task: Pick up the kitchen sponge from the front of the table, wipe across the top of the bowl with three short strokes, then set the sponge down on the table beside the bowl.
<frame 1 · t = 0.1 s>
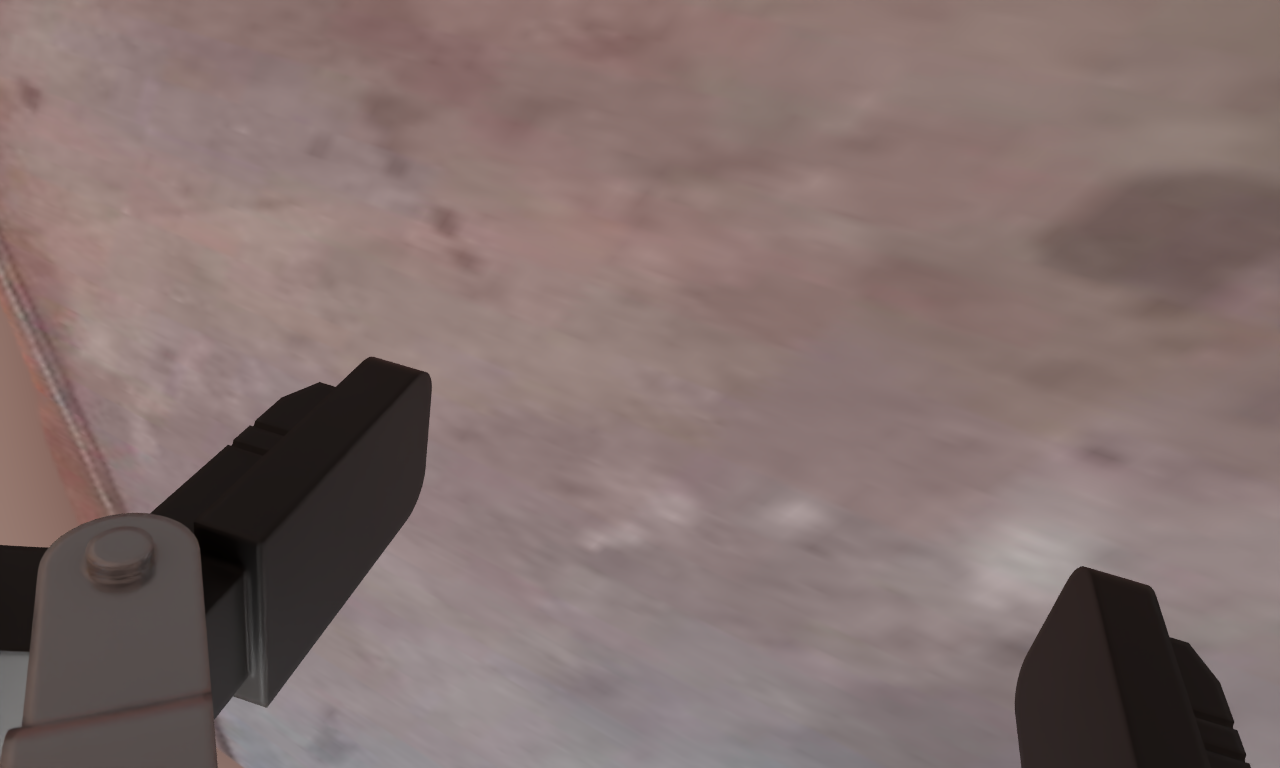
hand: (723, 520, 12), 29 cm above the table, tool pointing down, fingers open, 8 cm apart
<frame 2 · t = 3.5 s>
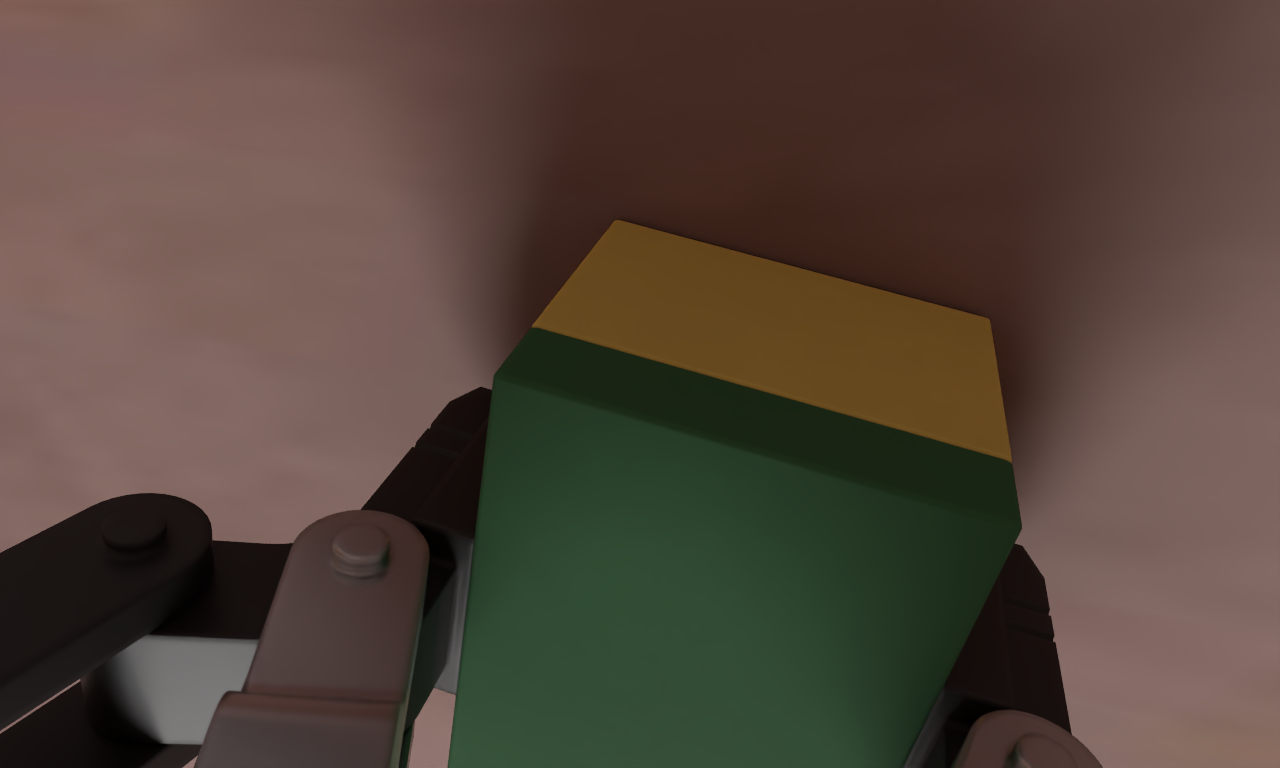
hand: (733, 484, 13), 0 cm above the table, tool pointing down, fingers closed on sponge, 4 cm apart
sponge: (739, 470, 13), on the table, touching gripper
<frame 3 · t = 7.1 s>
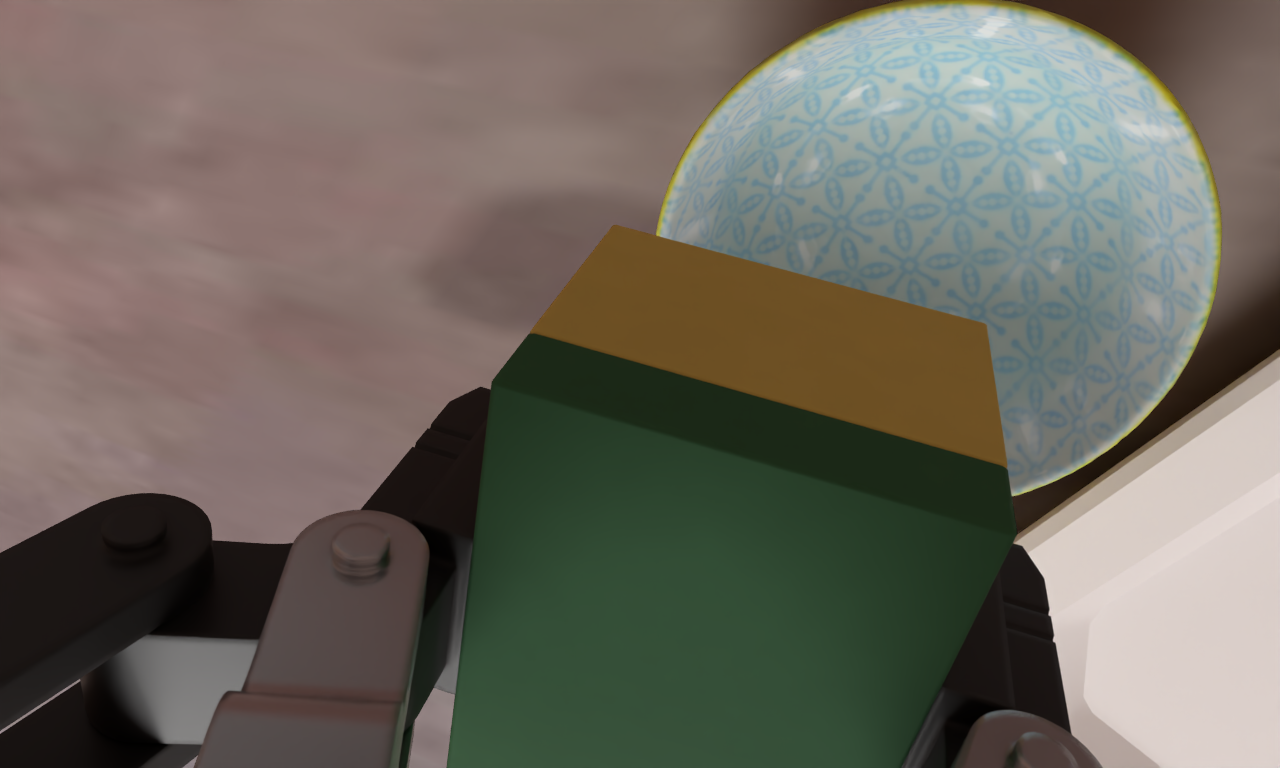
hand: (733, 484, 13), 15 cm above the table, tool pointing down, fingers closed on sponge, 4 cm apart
sponge: (737, 474, 13), point 15 cm above the table, touching gripper
bowl: (916, 194, 26), on the table
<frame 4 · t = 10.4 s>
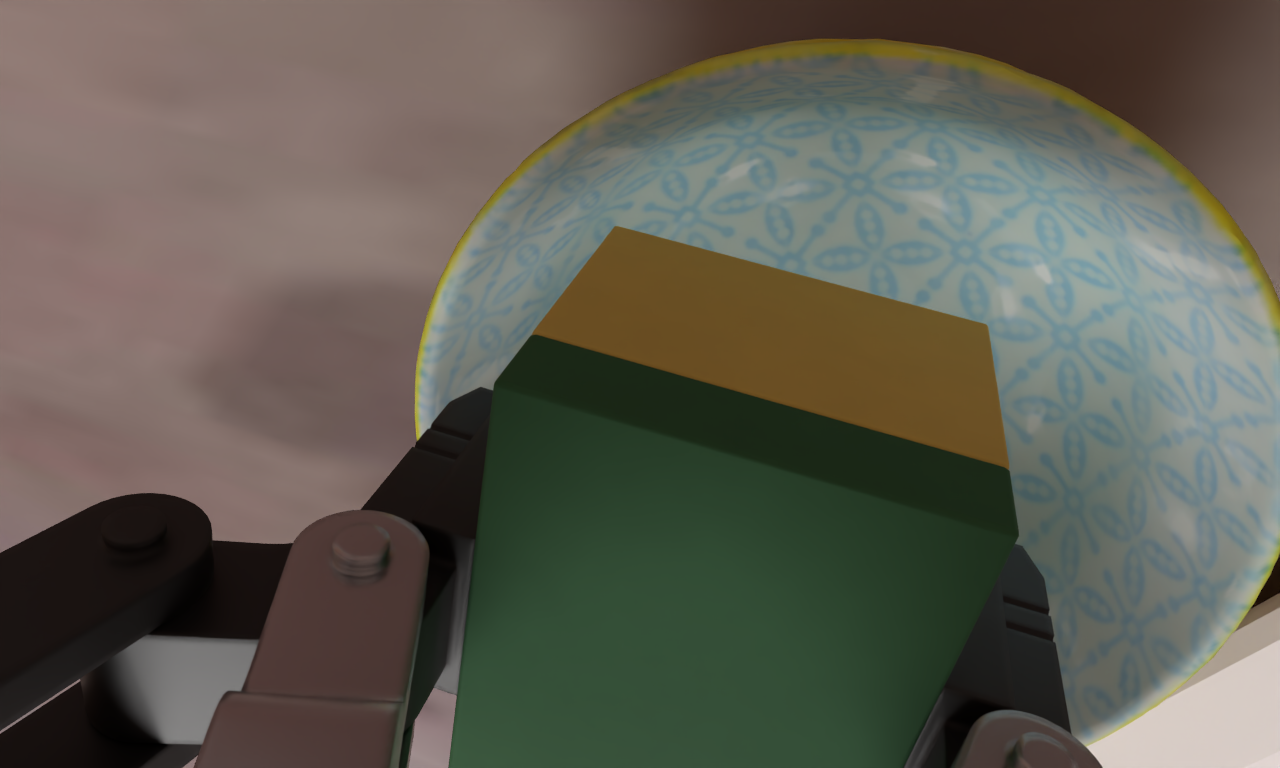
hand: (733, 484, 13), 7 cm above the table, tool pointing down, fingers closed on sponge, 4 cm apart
sponge: (739, 474, 13), point 6 cm above the table, touching gripper
bowl: (842, 303, 18), on the table
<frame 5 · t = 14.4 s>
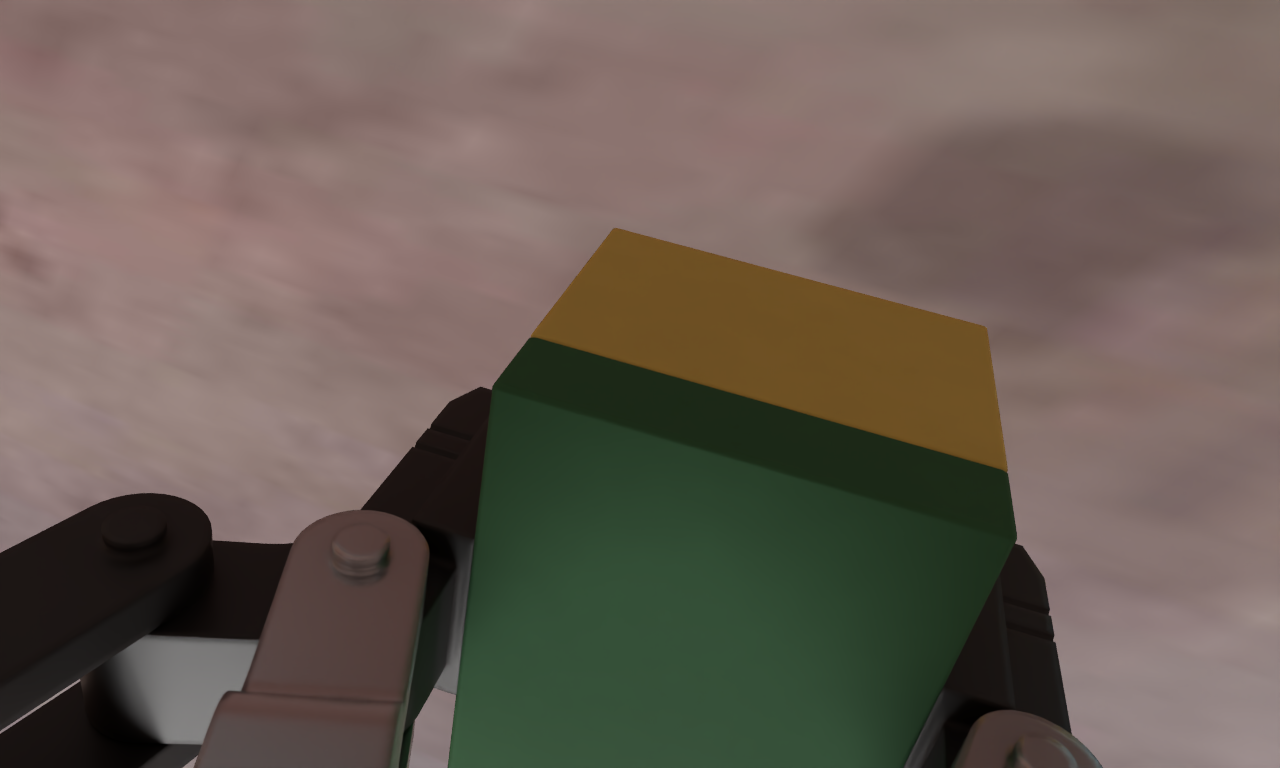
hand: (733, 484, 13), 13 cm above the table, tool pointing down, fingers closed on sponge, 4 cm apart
sponge: (738, 476, 13), point 12 cm above the table, touching gripper
when the fingers open (0 cm above the table, at t = 17.6 s): sponge stays where it is, on the table.
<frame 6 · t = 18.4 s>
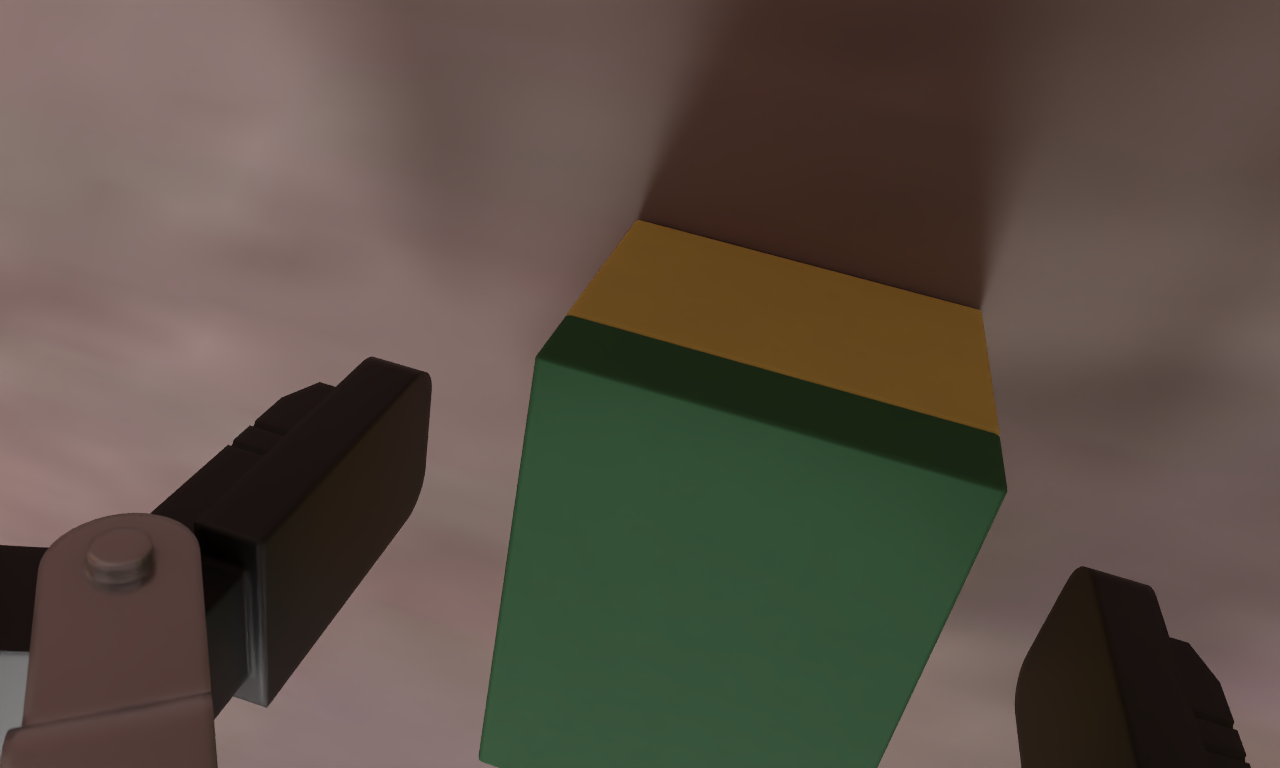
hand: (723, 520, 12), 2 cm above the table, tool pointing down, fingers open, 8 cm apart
sponge: (750, 453, 14), on the table
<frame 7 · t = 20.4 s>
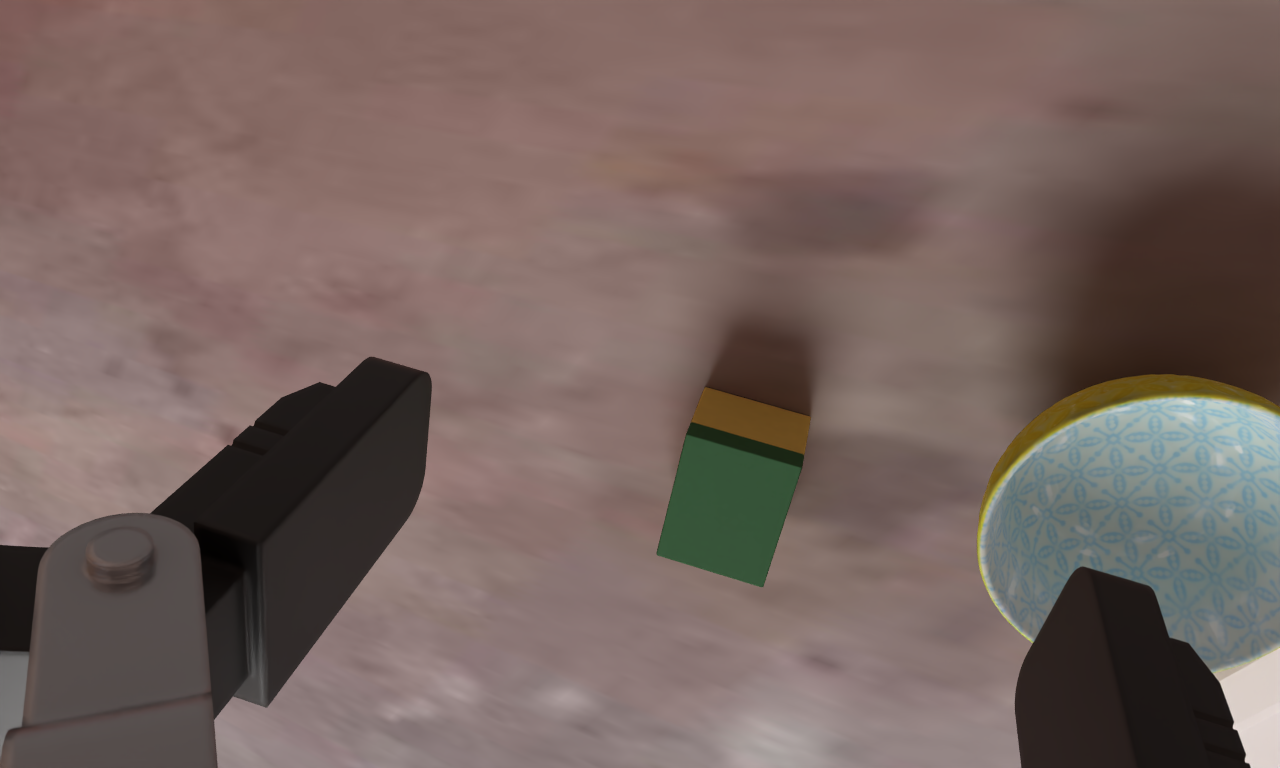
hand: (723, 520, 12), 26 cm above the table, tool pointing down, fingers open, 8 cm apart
sponge: (740, 460, 42), on the table
bowl: (1123, 450, 38), on the table
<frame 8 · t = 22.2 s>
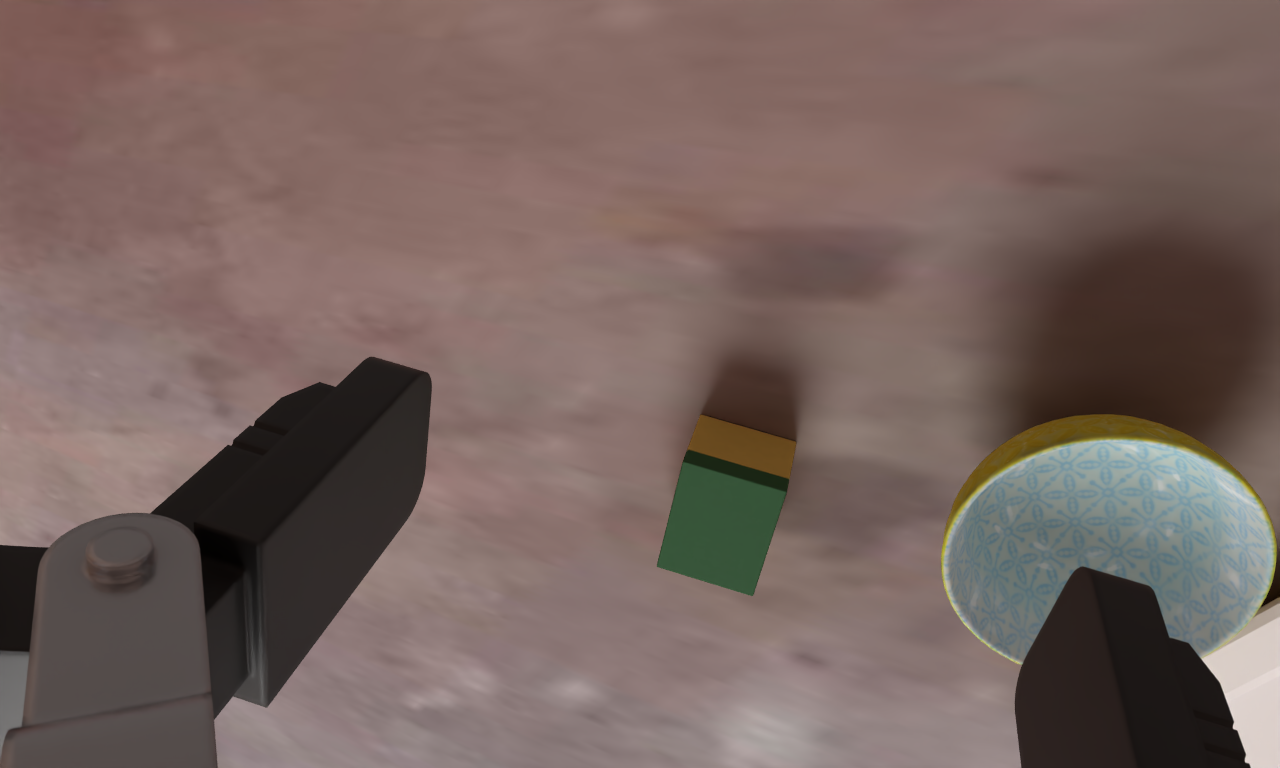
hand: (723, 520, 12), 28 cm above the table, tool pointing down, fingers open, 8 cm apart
sponge: (733, 479, 46), on the table
bowl: (1077, 474, 42), on the table
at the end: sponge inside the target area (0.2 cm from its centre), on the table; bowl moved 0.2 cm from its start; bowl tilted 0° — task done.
